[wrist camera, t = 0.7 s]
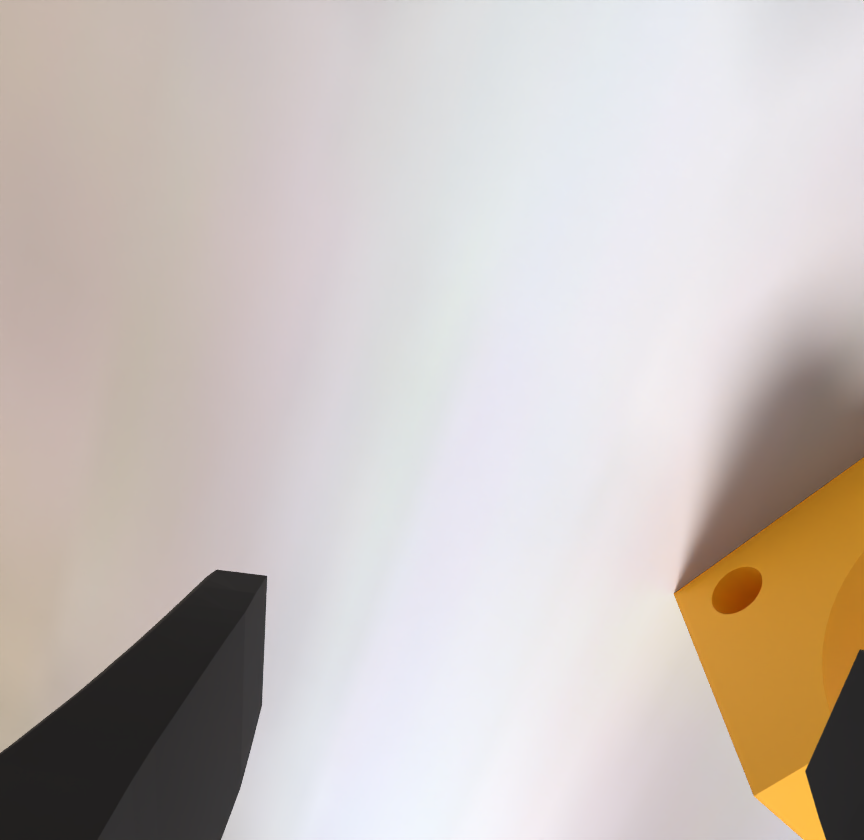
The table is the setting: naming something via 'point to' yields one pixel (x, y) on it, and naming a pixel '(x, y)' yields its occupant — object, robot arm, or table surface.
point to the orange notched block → (784, 639)
